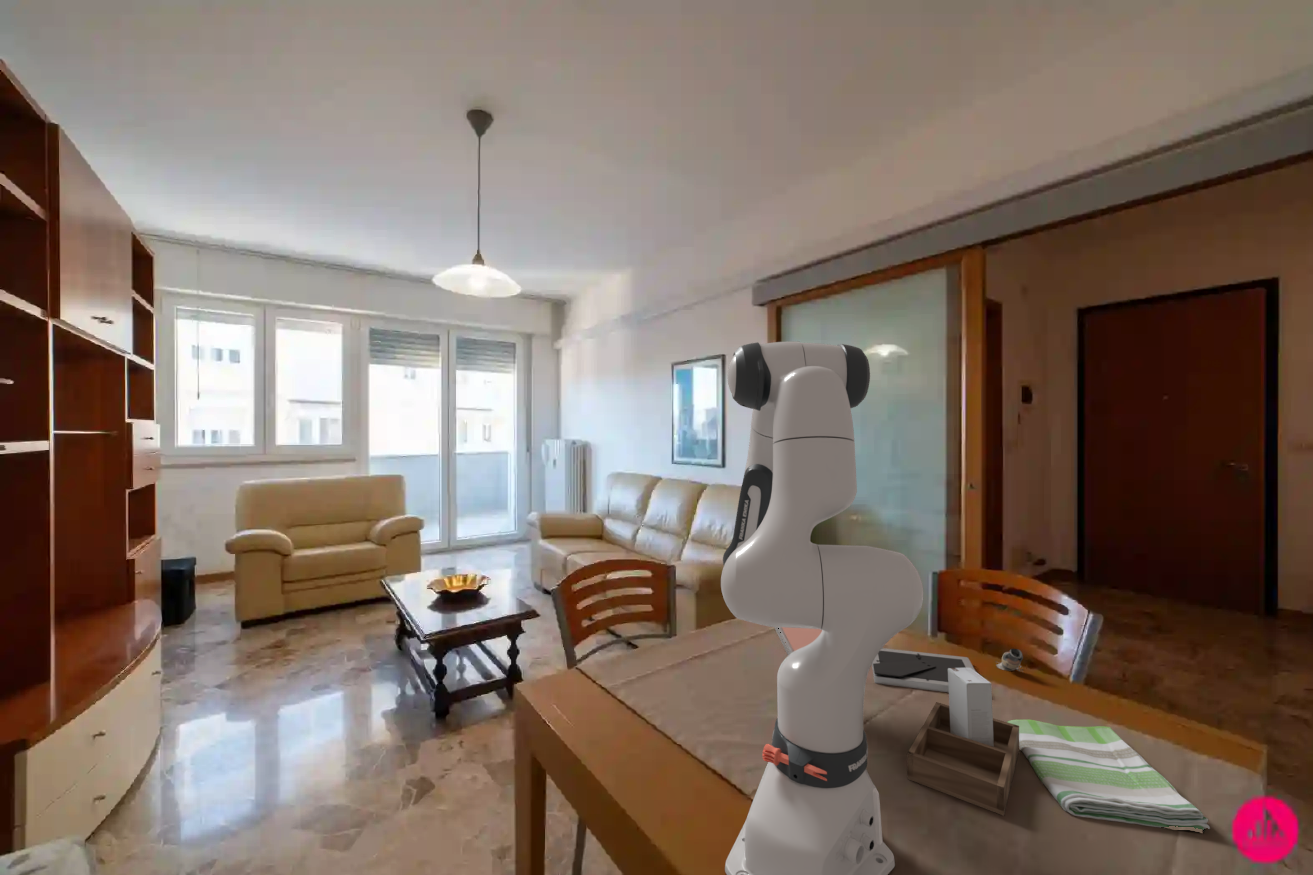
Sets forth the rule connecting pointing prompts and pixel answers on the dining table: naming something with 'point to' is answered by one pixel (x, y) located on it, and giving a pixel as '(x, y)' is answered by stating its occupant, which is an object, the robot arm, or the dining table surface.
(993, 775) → the walnut slot rack
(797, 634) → the notebook
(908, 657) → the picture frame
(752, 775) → the dining table surface
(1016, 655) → the vase
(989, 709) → the skincare box
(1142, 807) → the dish towel
